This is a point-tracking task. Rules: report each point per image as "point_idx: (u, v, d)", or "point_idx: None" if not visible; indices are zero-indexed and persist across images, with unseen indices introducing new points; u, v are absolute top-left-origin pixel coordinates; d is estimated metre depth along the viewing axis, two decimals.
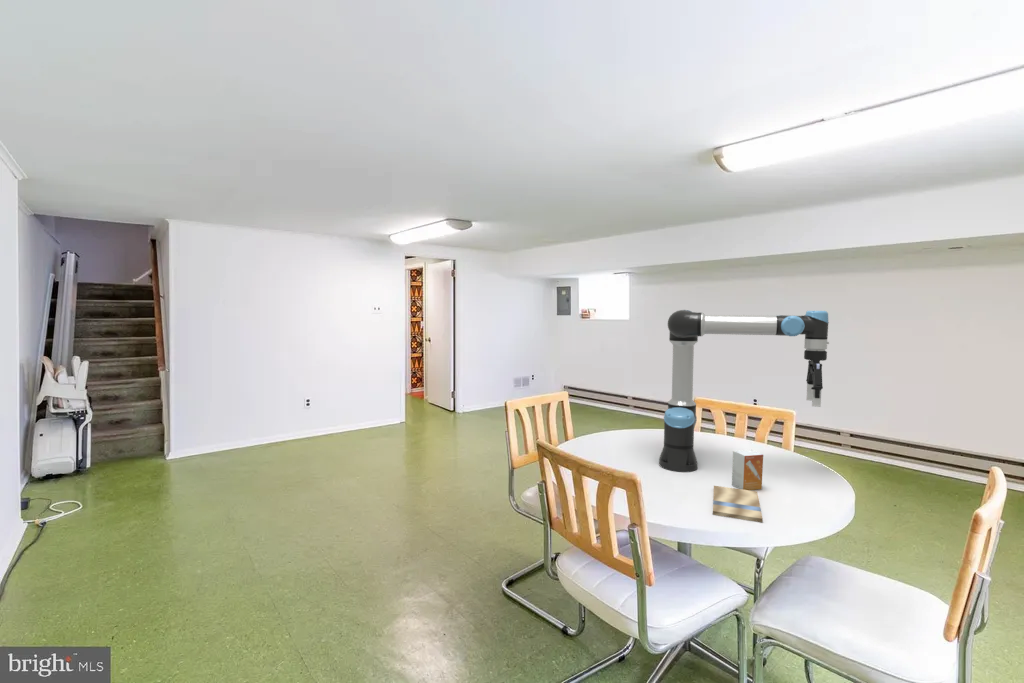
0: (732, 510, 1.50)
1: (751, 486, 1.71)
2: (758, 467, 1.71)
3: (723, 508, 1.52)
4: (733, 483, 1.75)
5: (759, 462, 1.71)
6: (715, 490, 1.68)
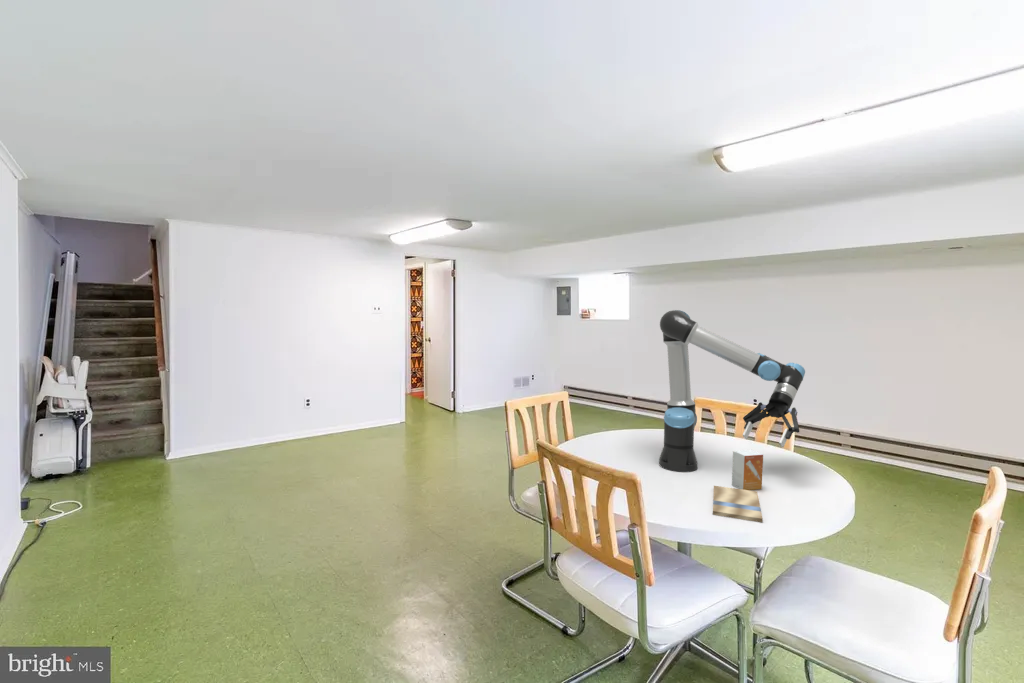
0: (732, 510, 1.50)
1: (751, 486, 1.71)
2: (758, 467, 1.71)
3: (723, 508, 1.52)
4: (733, 483, 1.75)
5: (759, 462, 1.71)
6: (715, 490, 1.68)
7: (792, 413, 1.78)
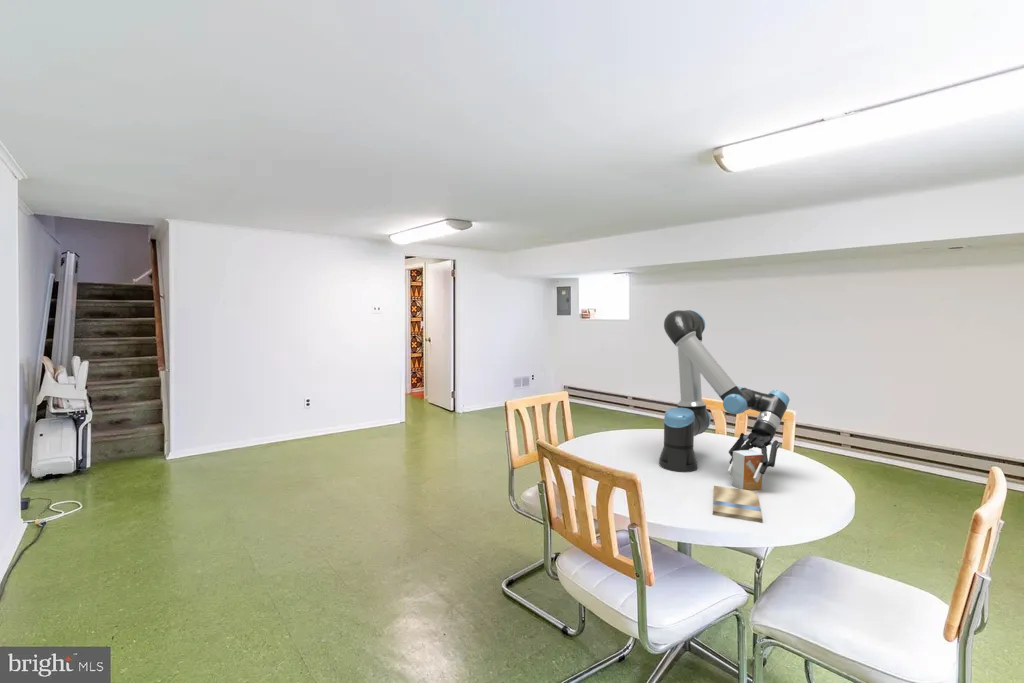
0: (732, 510, 1.50)
1: (751, 486, 1.71)
2: None
3: (723, 508, 1.52)
4: (733, 483, 1.75)
5: (759, 462, 1.71)
6: (715, 490, 1.68)
7: (772, 446, 1.72)
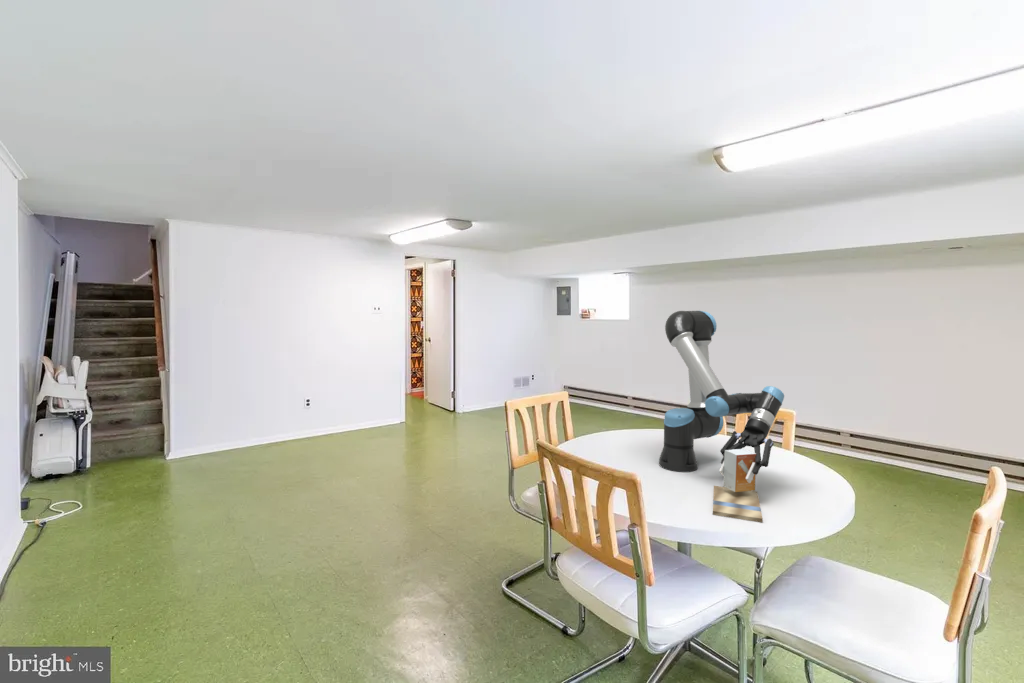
0: (732, 510, 1.50)
1: (743, 487, 1.62)
2: None
3: (723, 508, 1.52)
4: (725, 484, 1.66)
5: (752, 462, 1.62)
6: (715, 490, 1.68)
7: (766, 445, 1.63)
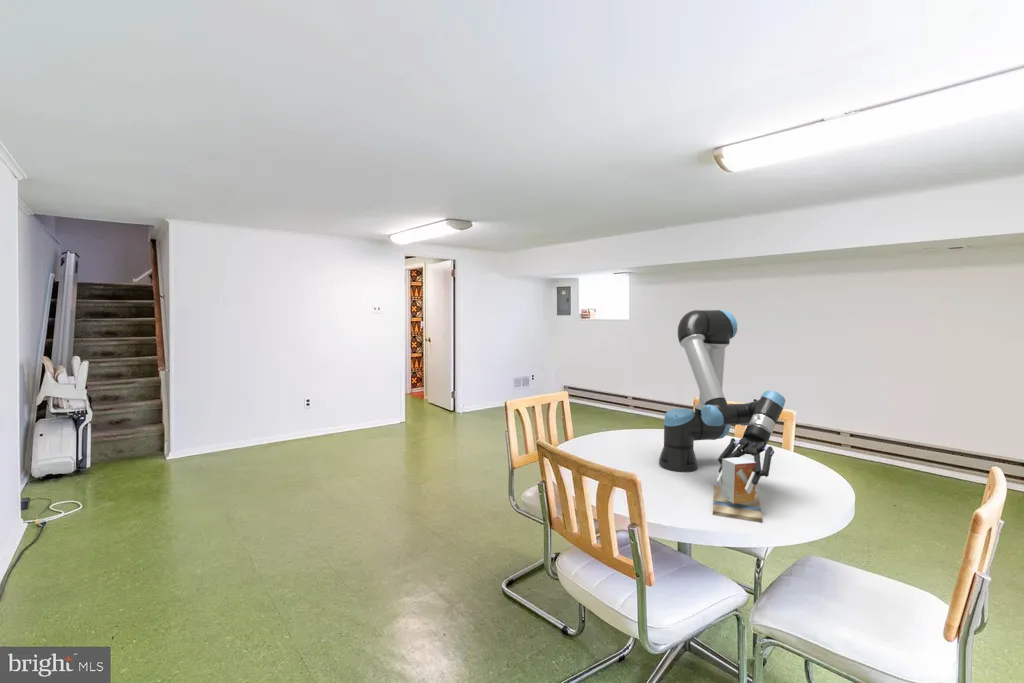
0: (732, 510, 1.50)
1: (742, 498, 1.52)
2: None
3: (723, 508, 1.52)
4: (723, 494, 1.56)
5: (751, 471, 1.52)
6: (715, 490, 1.68)
7: (766, 453, 1.53)
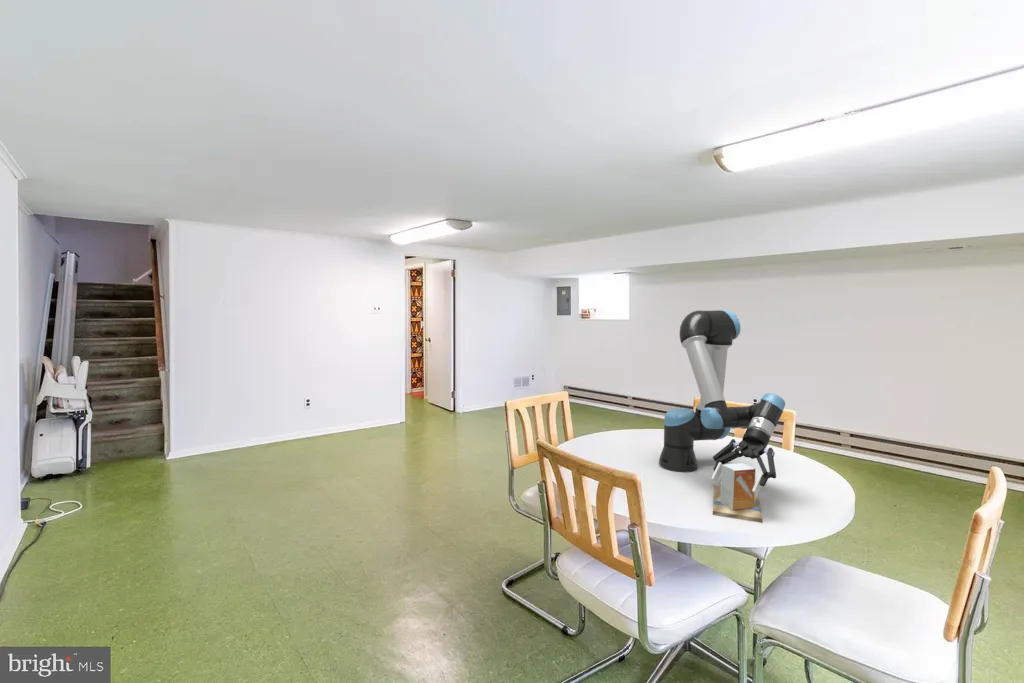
0: (732, 510, 1.50)
1: (742, 504, 1.51)
2: (749, 483, 1.52)
3: (723, 508, 1.52)
4: (722, 501, 1.55)
5: (751, 477, 1.51)
6: (715, 490, 1.68)
7: (768, 454, 1.52)
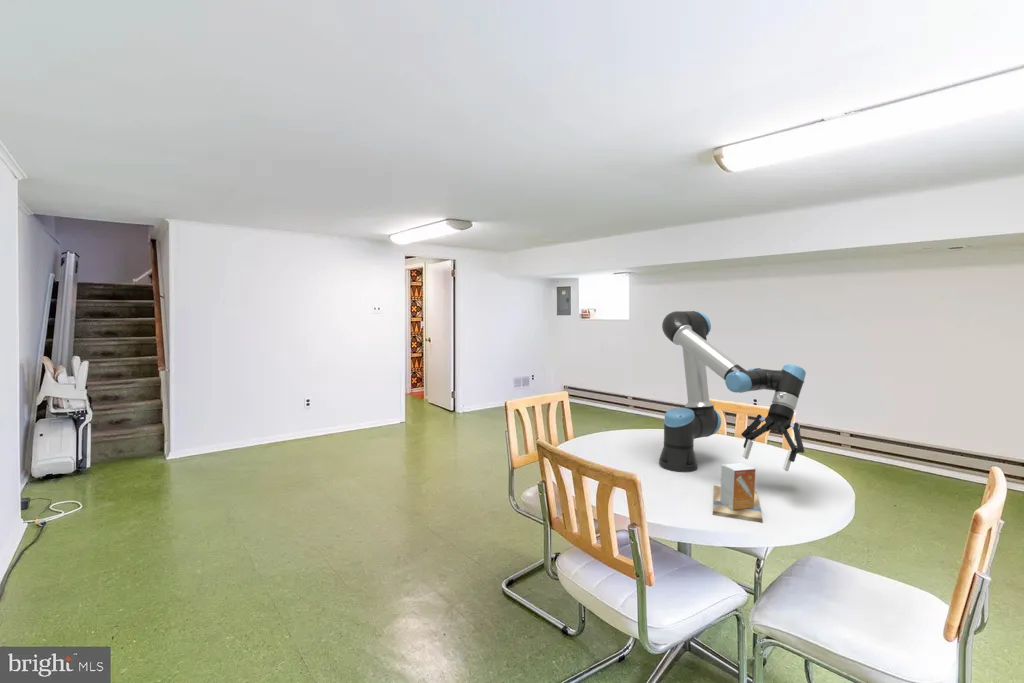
0: (732, 510, 1.50)
1: (742, 504, 1.51)
2: (749, 483, 1.52)
3: (723, 508, 1.52)
4: (722, 501, 1.55)
5: (751, 477, 1.51)
6: (715, 490, 1.68)
7: (795, 430, 1.61)
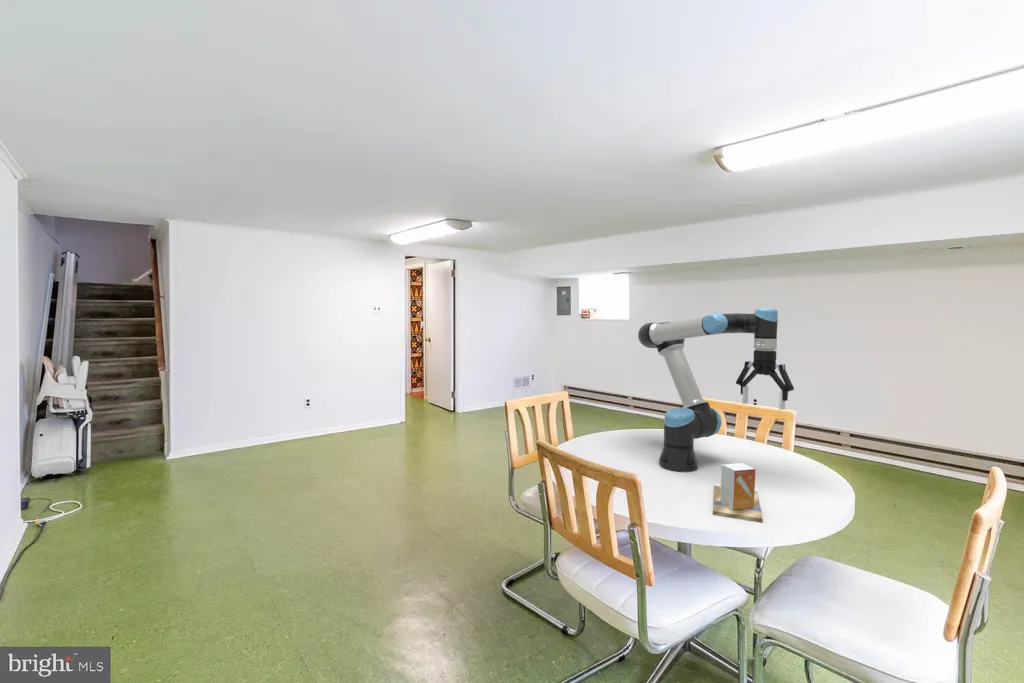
0: (732, 510, 1.50)
1: (742, 504, 1.51)
2: (749, 483, 1.52)
3: (723, 508, 1.52)
4: (722, 501, 1.55)
5: (751, 477, 1.51)
6: (715, 490, 1.68)
7: (780, 372, 1.72)
